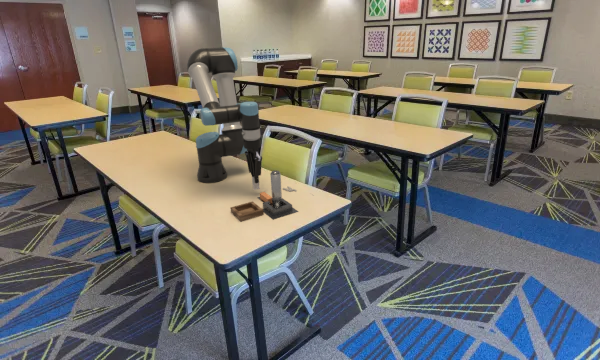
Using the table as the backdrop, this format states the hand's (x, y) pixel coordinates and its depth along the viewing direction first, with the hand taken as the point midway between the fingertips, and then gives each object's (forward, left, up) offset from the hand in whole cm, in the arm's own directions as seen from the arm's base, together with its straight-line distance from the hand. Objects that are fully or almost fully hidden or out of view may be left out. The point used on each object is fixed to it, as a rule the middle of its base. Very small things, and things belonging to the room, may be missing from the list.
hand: (256, 188), depth 163 cm
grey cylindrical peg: (+20, 0, -3) cm, 20 cm away
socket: (+15, 0, -3) cm, 15 cm away
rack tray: (+16, -12, -3) cm, 20 cm away
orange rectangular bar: (+10, 0, -3) cm, 10 cm away
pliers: (+10, +15, -4) cm, 18 cm away
